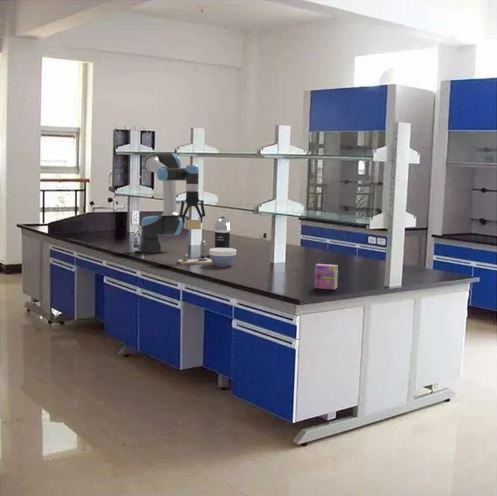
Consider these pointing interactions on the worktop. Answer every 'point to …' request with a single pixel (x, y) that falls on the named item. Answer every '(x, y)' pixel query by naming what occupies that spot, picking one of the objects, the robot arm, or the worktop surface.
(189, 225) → the brass collar
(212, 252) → the bowl
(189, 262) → the birch board
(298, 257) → the worktop surface
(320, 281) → the box
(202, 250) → the tall steel post
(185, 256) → the short steel post
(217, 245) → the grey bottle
